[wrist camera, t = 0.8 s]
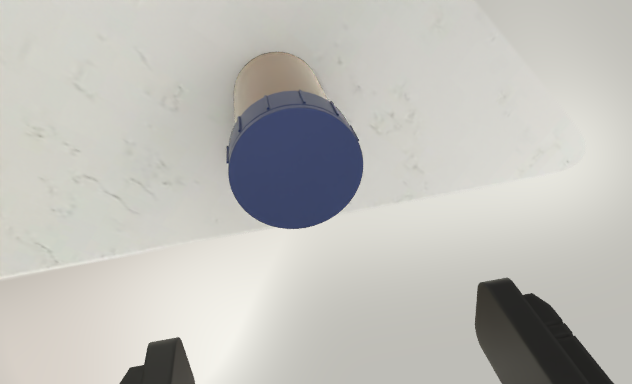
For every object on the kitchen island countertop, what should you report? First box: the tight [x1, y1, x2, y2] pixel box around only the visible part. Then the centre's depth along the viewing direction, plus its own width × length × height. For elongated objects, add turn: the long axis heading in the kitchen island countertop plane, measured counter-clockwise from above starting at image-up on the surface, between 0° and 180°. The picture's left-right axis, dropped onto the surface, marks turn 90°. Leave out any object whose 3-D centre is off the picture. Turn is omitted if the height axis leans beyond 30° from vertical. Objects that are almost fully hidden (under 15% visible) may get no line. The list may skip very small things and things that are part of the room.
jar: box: [234, 52, 328, 123], centre depth 26 cm, size 5×5×10 cm
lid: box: [227, 89, 363, 229], centre depth 23 cm, size 6×6×2 cm
